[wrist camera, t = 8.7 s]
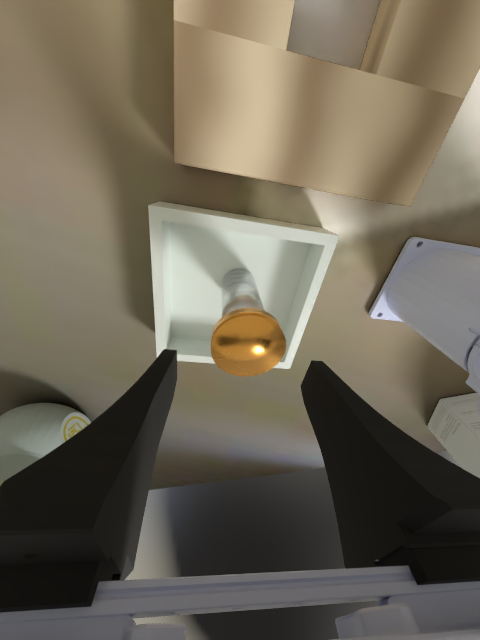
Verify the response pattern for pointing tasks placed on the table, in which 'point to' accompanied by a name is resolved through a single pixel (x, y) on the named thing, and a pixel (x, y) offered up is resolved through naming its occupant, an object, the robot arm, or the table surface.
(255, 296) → the pin
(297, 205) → the table surface
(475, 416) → the supplement box
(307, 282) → the tray
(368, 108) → the pin plate
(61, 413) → the air freshener
